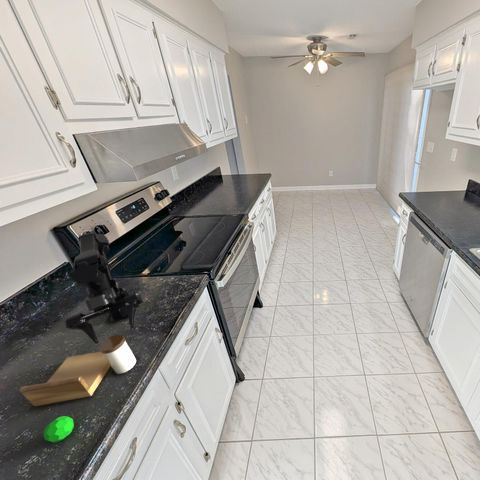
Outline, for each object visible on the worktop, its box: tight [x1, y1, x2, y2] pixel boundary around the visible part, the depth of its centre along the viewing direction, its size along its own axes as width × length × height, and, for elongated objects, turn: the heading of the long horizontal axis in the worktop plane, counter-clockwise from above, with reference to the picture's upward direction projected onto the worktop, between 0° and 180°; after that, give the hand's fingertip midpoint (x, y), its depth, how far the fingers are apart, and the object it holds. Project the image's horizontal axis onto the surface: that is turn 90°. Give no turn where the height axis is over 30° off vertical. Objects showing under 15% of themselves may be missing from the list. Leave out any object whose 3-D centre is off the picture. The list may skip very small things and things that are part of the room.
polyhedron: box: [43, 415, 75, 443], centre depth 60 cm, size 5×5×5 cm
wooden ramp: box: [18, 351, 111, 407], centre depth 73 cm, size 14×14×7 cm
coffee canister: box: [98, 334, 137, 375], centre depth 75 cm, size 6×6×10 cm
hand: (115, 335), depth 79 cm, fingers open, 9 cm apart
